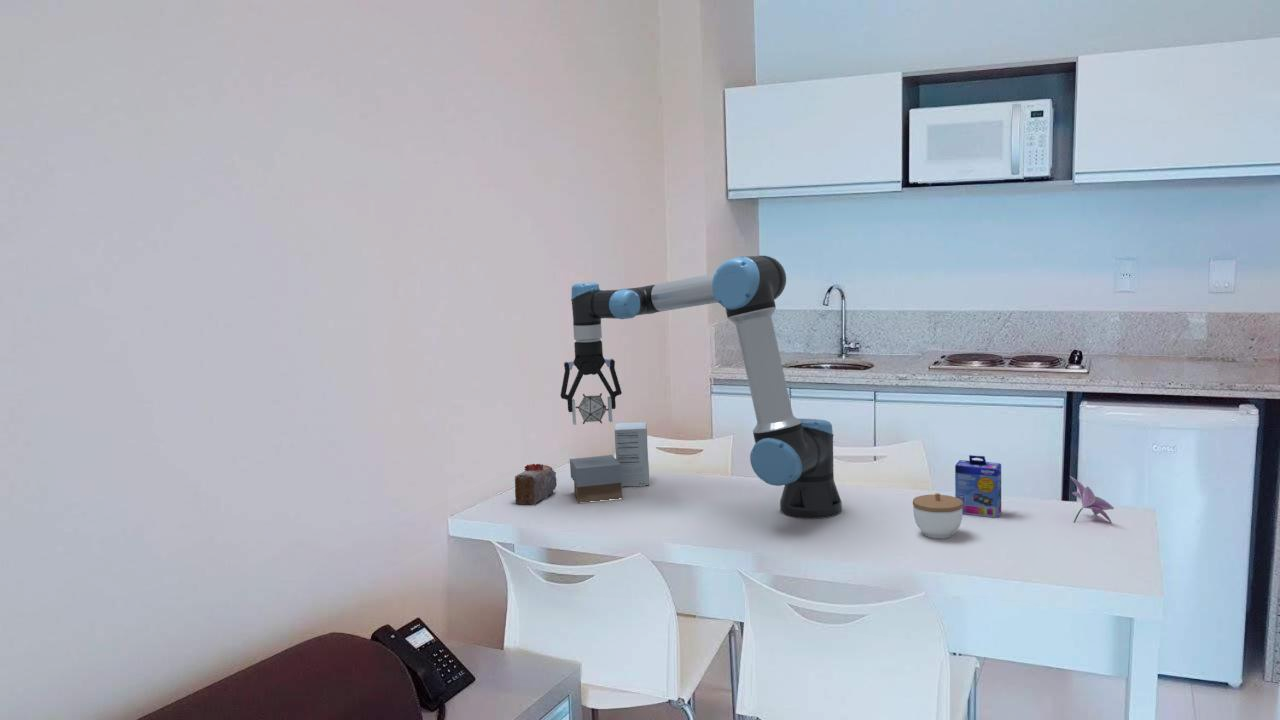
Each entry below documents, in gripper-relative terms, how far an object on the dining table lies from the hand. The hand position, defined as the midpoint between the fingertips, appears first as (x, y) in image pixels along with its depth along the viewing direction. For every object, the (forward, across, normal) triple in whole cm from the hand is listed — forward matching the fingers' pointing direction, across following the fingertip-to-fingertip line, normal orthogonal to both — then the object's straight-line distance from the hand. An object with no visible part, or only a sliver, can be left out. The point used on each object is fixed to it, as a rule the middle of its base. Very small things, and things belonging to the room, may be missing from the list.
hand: (592, 422), depth 248 cm
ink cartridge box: (+21, -88, +44) cm, 101 cm away
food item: (+21, +16, -3) cm, 27 cm away
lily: (+21, -109, +56) cm, 124 cm away
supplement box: (+21, -12, -11) cm, 26 cm away
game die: (0, 0, 0) cm, 0 cm away
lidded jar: (+21, -72, +56) cm, 94 cm away
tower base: (+21, 0, 0) cm, 21 cm away
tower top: (+16, 0, 0) cm, 16 cm away
